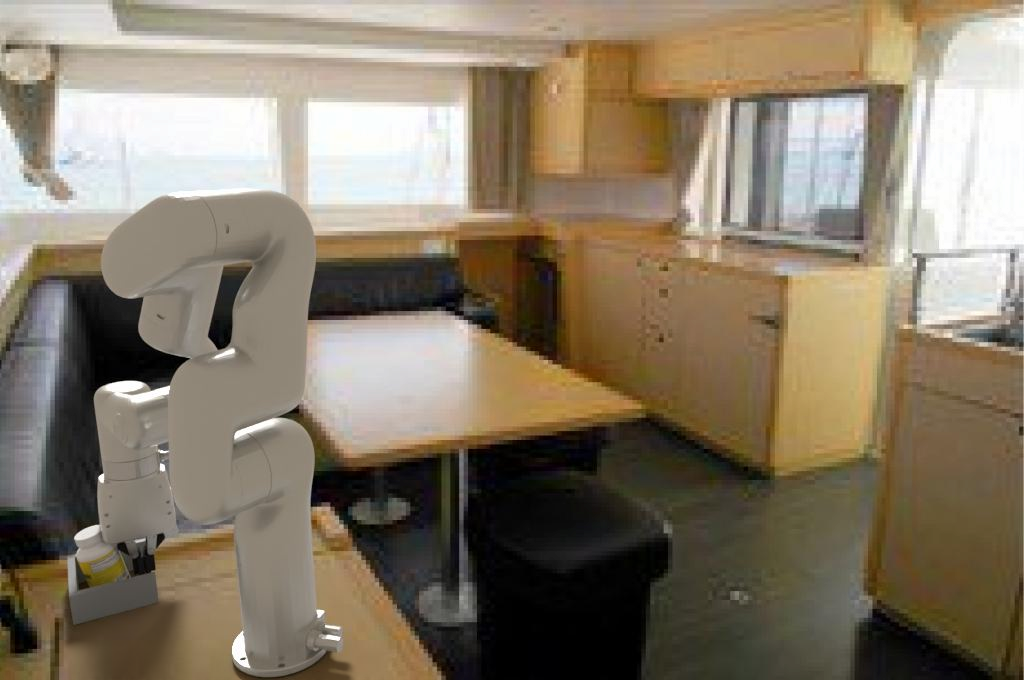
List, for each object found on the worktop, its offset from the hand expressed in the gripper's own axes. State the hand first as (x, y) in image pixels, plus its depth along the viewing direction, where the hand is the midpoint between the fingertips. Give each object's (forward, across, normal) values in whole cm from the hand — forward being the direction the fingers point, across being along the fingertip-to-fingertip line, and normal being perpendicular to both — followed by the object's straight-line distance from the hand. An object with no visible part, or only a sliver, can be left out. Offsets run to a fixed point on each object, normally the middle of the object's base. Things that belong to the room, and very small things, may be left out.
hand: (145, 576), depth 117 cm
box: (+1, +4, 0) cm, 5 cm away
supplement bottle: (+1, +4, 0) cm, 5 cm away
